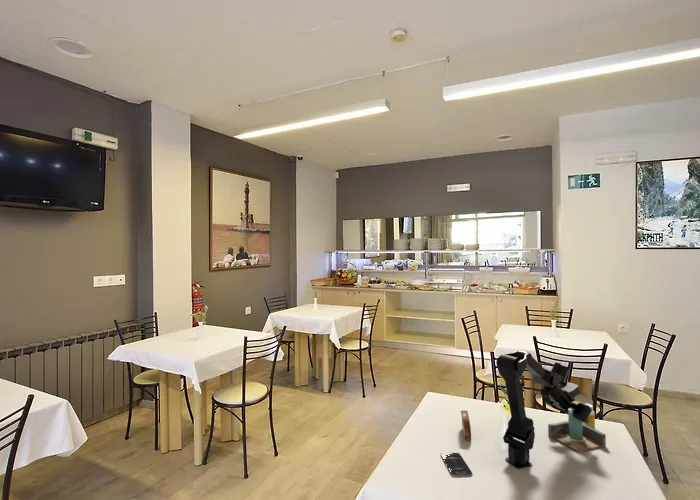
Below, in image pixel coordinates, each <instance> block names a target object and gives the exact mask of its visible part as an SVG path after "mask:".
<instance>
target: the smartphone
mask: <svg viewBox="0 0 700 500" xmlns="http://www.w3.org/2000/svg"><path fill="white" fill-rule="evenodd" d="M442 453H443V452H442ZM442 453H440V455H441V454H442ZM451 453H452V454H449V455H450V456H448V455H446V456H447V457H446V459H442V461H443V460H445V461H443V463H444V462H445V463H444V465H445V464H447V465H445V466H447V467H446V468H448V469H449V468H450V470H451V469H452V470H451V472H449V471H450V470H448V469H447V470H448V472H449V474H450V473H451V474H452V475H453V476H459V477H458V478H461V477H462V478H463V477H464V478H466V477H472V476H473V471H471V470H472V469H470V467H469V465H468V464H467V463H466V461H465V459H464V458H463V456H462V455H461V454H460V453H459V452H451ZM451 474H450V475H451ZM453 476H452V477H453Z"/></svg>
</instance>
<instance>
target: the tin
mask: <svg viewBox="0 0 700 500" xmlns="http://www.w3.org/2000/svg"><path fill="white" fill-rule="evenodd" d="M460 414H461V427H462V433H463V438H464V440H472V429H471V423H470V422H471V421H470V420H471V419H470V416H469V411H468V410H461V411H460Z"/></svg>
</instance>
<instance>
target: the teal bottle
mask: <svg viewBox="0 0 700 500" xmlns="http://www.w3.org/2000/svg"><path fill="white" fill-rule="evenodd" d="M572 403H575V404H577V405H578V403H579V402H575V401H574V402H572ZM568 410H569V411H568V414H567V416H568V419H567V421H568V423H569V437H570V438H572V439H574V440H583V422H582V421H580V420H578V419H575V417H574V416H573V411H574V410H573V409H568Z"/></svg>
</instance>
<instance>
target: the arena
mask: <svg viewBox="0 0 700 500" xmlns="http://www.w3.org/2000/svg"><path fill="white" fill-rule="evenodd" d="M547 427H548V428H547V429H548V430H547V431H548V433H547V434H548V437H550V438H551V439H553V440H554V441H556V442H557V443H558V442H559V444H561V445H564V446H565V447H567V448H569V449H571V450H572V451H574V452H576V453H582V452H586V451H591V450H596V449H602V448H606V447H607V446H606V445H607V444H606V439H607V438H606V437H607V436H606V435H607V434H606V433H603V432H602V431H599V430H598V429H596V428H595V429H593V428H591V427H589V426H587V425H585V424H583V440H574V439H572V438H570V437H569V423H568V420H566V421H558V422H555V423H554V422H553V423H548V425H547Z"/></svg>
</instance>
